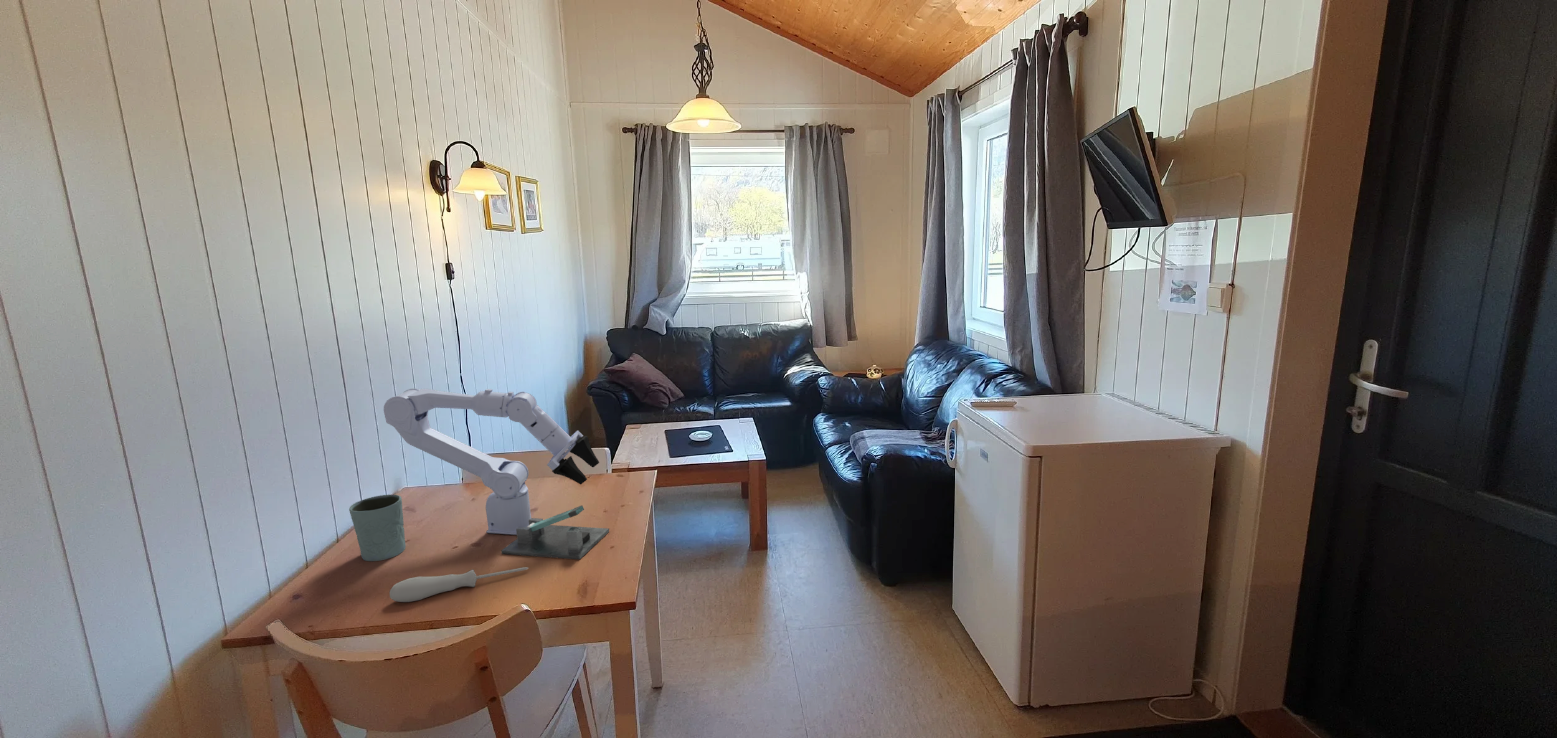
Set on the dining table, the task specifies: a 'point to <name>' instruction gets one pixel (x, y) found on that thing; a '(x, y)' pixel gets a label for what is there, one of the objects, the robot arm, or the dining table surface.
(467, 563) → the dining table surface
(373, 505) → the green cup
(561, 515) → the teal rectangular bar
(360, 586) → the dining table surface
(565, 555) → the plate
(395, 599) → the screwdriver
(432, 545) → the dining table surface
